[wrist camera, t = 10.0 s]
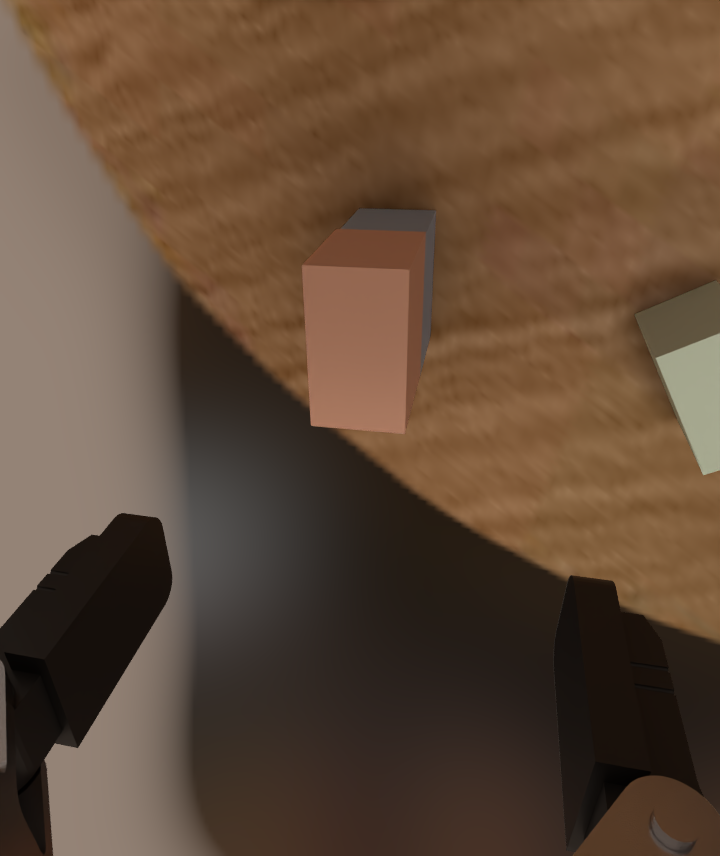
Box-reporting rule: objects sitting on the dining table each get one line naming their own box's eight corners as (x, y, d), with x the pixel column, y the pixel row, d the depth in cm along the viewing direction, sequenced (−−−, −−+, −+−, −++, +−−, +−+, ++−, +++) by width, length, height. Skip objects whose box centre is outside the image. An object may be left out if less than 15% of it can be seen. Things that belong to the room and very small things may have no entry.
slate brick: (359, 208, 29) (334, 234, 25) (435, 210, 29) (424, 238, 25) (360, 331, 32) (339, 373, 28) (430, 335, 32) (419, 379, 28)
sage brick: (634, 313, 29) (655, 358, 25) (715, 279, 28) (752, 320, 24) (676, 418, 32) (703, 475, 27) (754, 391, 30) (795, 446, 26)
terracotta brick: (336, 228, 25) (301, 264, 21) (425, 231, 24) (409, 269, 20) (340, 369, 28) (310, 425, 24) (420, 374, 27) (404, 433, 23)
